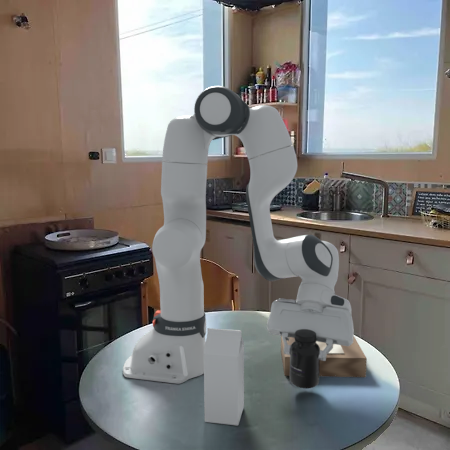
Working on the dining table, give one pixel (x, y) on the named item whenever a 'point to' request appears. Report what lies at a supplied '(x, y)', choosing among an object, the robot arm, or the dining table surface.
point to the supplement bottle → (304, 359)
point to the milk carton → (223, 376)
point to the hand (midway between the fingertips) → (304, 356)
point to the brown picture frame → (335, 360)
